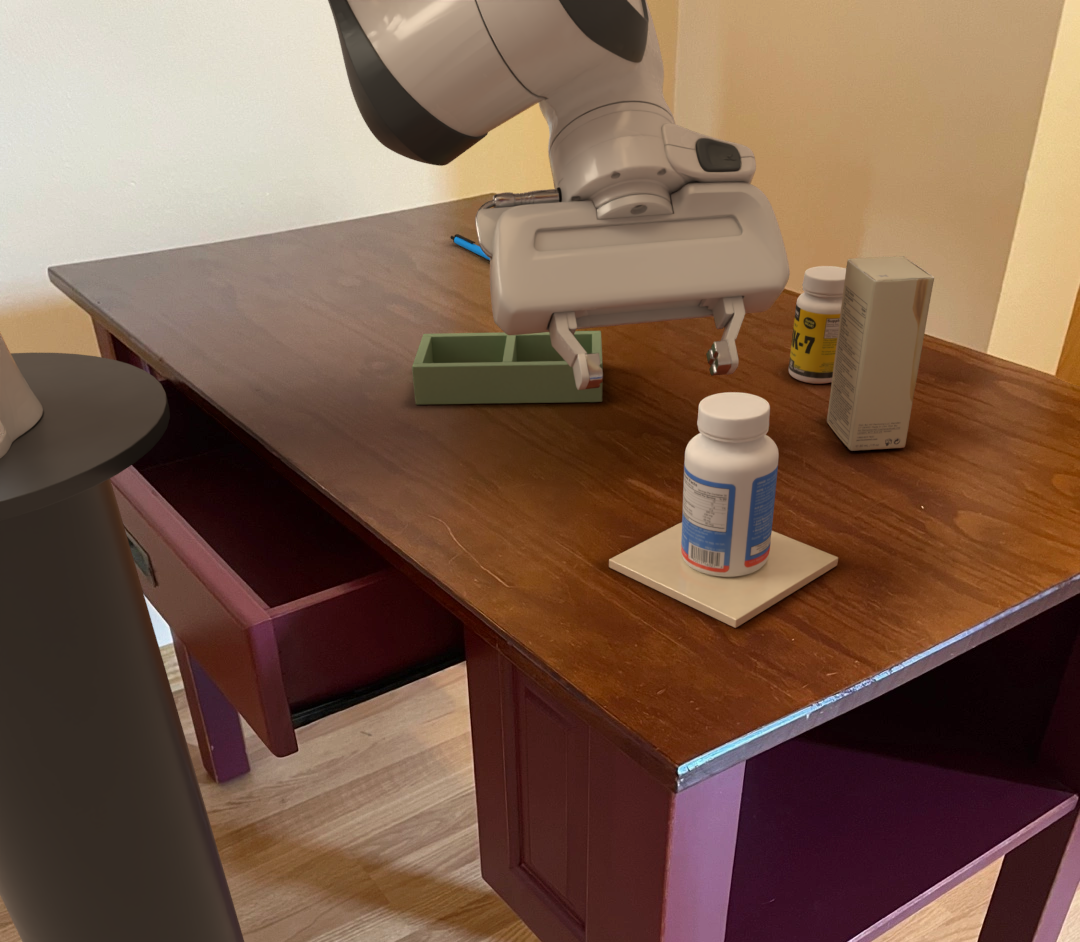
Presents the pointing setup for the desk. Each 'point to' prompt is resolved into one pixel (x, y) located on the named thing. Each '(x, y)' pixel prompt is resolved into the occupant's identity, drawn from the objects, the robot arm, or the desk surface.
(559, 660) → the desk surface
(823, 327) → the supplement bottle
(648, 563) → the tile
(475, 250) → the pen
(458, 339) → the bottle rack
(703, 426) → the pill bottle
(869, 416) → the cosmetic box
